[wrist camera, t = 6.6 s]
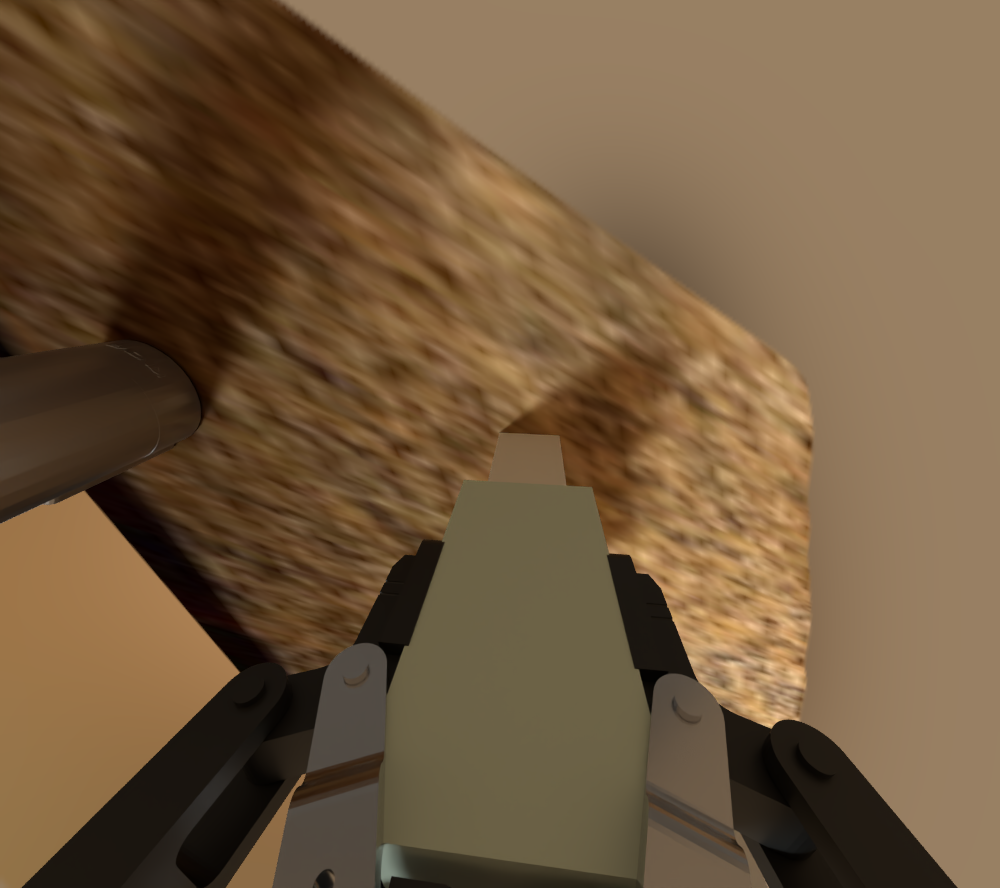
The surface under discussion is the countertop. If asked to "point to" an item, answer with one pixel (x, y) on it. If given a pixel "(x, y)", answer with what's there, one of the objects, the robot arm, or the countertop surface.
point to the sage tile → (517, 705)
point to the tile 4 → (528, 459)
